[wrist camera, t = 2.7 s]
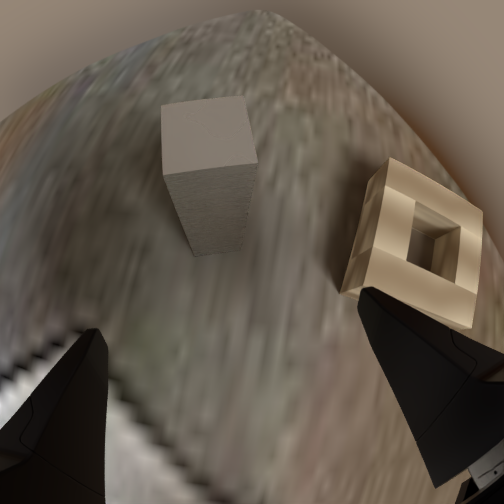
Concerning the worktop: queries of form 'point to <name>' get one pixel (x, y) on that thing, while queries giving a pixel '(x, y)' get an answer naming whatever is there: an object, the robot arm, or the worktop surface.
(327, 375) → the worktop surface
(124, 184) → the worktop surface
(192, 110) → the square bit
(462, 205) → the socket block
